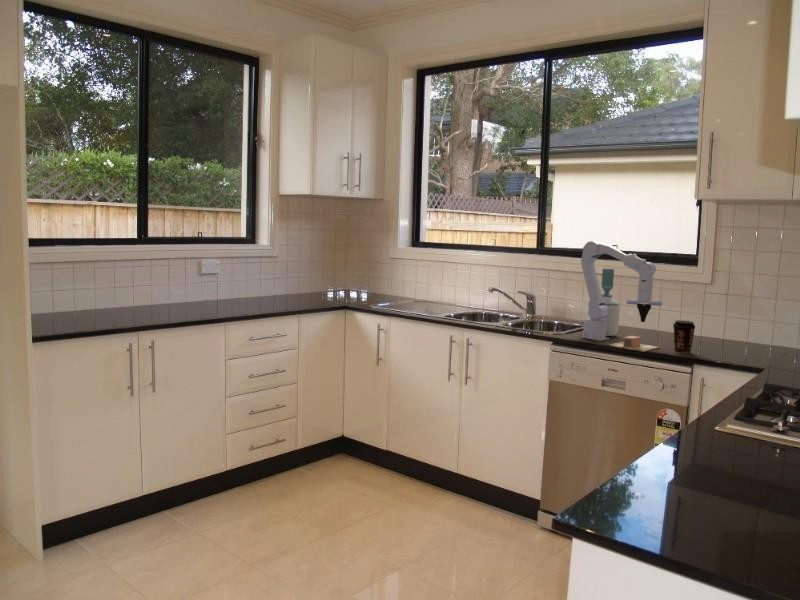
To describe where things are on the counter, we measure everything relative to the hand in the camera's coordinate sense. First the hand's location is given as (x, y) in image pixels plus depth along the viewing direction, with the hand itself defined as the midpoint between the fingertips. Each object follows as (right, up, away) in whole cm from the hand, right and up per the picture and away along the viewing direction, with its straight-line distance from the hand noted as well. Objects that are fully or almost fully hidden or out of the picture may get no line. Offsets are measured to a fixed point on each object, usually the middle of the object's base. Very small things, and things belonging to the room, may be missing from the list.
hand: (642, 321), depth 296 cm
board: (-5, -11, -3) cm, 12 cm away
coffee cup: (+12, -13, -12) cm, 21 cm away
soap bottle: (-9, -7, +26) cm, 28 cm away
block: (-4, -8, -2) cm, 9 cm away
